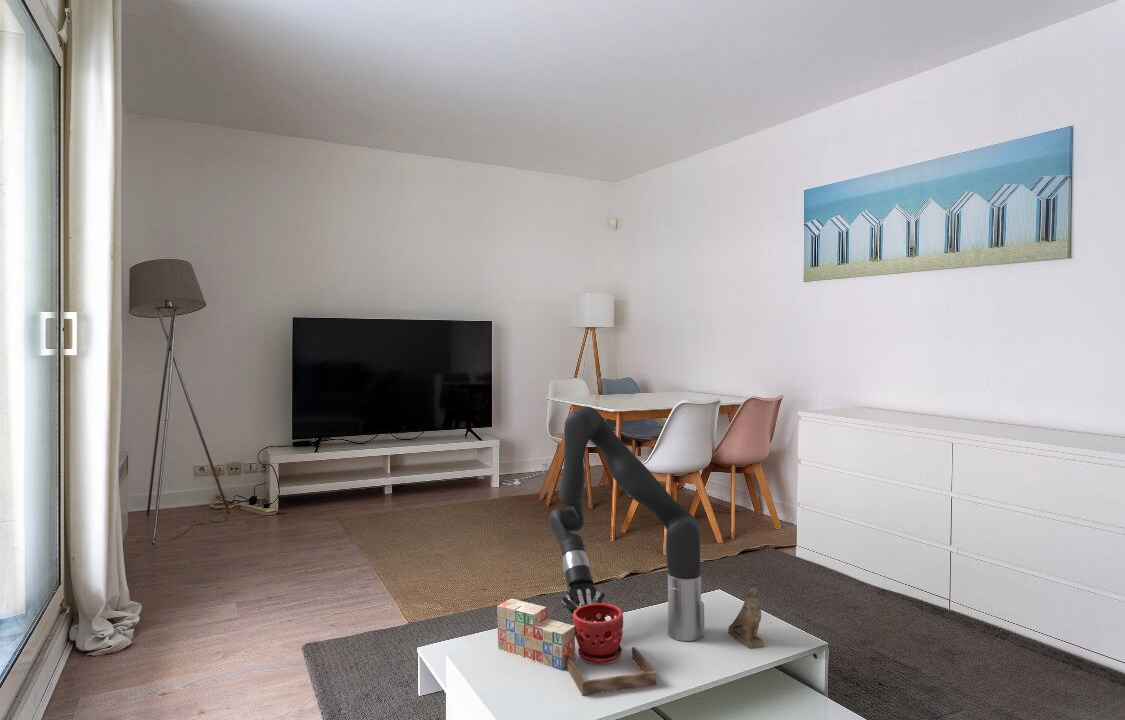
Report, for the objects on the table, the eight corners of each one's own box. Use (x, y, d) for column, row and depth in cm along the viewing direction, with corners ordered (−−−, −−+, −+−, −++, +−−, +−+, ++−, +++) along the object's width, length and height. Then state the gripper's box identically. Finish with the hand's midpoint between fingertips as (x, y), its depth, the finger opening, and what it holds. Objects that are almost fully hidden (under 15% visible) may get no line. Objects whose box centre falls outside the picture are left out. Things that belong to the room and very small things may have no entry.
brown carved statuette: (763, 655, 179) (772, 595, 175) (745, 657, 178) (753, 597, 174) (742, 628, 190) (750, 572, 186) (725, 630, 189) (732, 573, 185)
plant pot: (598, 641, 183) (598, 598, 183) (633, 657, 173) (633, 612, 173) (563, 655, 174) (562, 610, 174) (597, 674, 164) (597, 626, 164)
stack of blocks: (576, 661, 171) (575, 614, 171) (562, 671, 166) (562, 622, 166) (511, 641, 183) (511, 597, 183) (497, 649, 178) (496, 604, 178)
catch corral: (634, 658, 173) (634, 646, 173) (656, 684, 159) (656, 672, 159) (566, 667, 168) (566, 655, 168) (582, 695, 154) (582, 682, 154)
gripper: (557, 566, 187) (568, 626, 175) (601, 562, 190) (615, 621, 178) (552, 578, 192) (563, 638, 180) (596, 574, 195) (609, 632, 184)
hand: (589, 629), depth 179 cm, fingers closed
